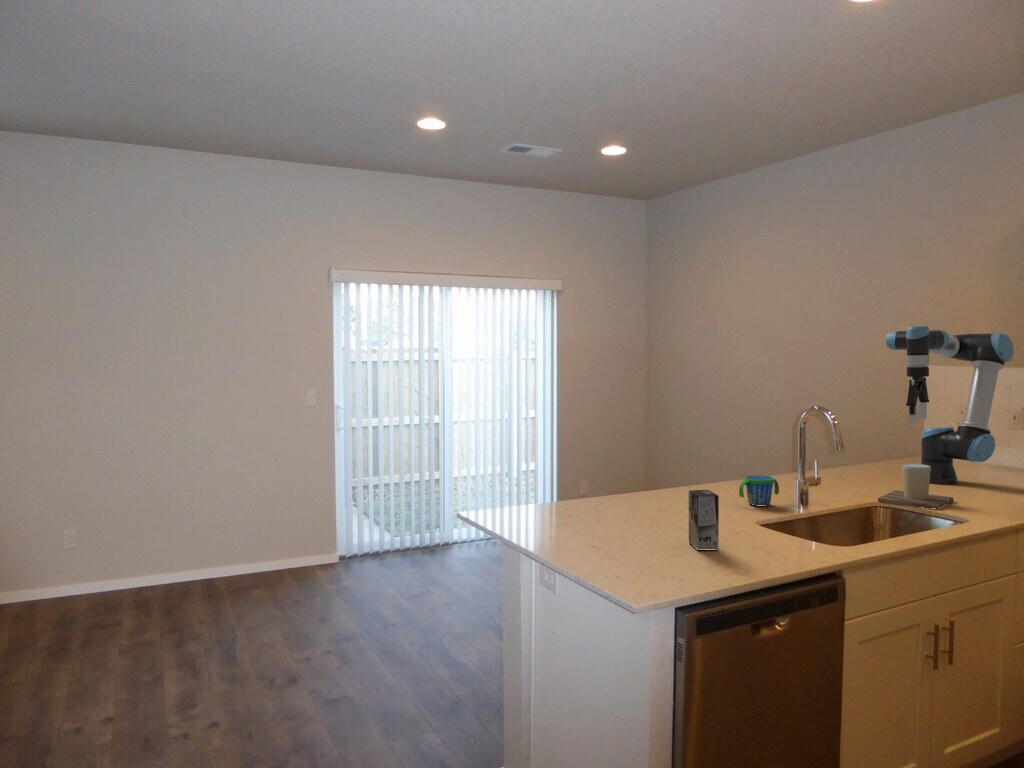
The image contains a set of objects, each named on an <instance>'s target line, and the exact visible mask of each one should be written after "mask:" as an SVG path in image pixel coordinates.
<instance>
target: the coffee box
mask: <svg viewBox="0 0 1024 768" xmlns="http://www.w3.org/2000/svg"><path fill="white" fill-rule="evenodd" d="M719 497H720V496H719V495H718V494H716V493H715V492H712V491H711V490H709V489H694V490H693V489H691V490H688V543H689V542H690V543H691V544H693V545H694V546H695V547H696V548H698V549H718V550H719V540H720V539H719V533H720V532H719V522H720V521H719V520H720V519H719V518H720V517H719V515H720V514H719V510H720V509H719V508H720V507H719V502H720V500H719V499H720V498H719Z"/></svg>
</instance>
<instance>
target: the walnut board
mask: <svg viewBox="0 0 1024 768" xmlns="http://www.w3.org/2000/svg"><path fill="white" fill-rule="evenodd" d="M954 500H955V499H954V496H946V495H937V494H931V493H930V494H929V493H928V499H925V500H917V499H909V498H906V497H904V490H899V489H898V490H892V491H891V492H888V493H887V494H884V495H881V496H879V497H877V502H878V503H884V504H890V505H897V506H898V505H899V506H904V507H912V506H913V508H919V507H924V508H923V509H926V508H936V509H939V508H940V507H942V506H944V505H946V504H948V503H950V502H951V503H953V502H954ZM952 501H953V502H952ZM951 503H950V504H951ZM948 505H949V504H948ZM946 506H947V505H946ZM944 507H945V506H944ZM939 510H940V509H939Z"/></svg>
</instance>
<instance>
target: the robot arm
mask: <svg viewBox="0 0 1024 768" xmlns="http://www.w3.org/2000/svg"><path fill="white" fill-rule="evenodd" d="M885 345H886V347H887V349H888V350H894V351H897V350H898V351H899V350H903V351H906V357H905V358H904V360H905V361H906V366H907V367H906V377H909V378H910V377H911V378H912V379H909V381H908V382H909V383H908V385H909V386H908V392H907V399H906V403H905V405H906V407H908V424H918V420H928V411H927V410H928V403H930V399H929V393H928V387H927V386H928V385H927V377H929V375H930V367H929V365H930V354H935V355H940V356H941V357H943V358H948V359H949V358H950V359H954V360H958V361H959V360H960V361H965V362H970V364H971V366H973V372H972V377H971V382H970V387H969V392H968V397H967V402H966V407H965V412H964V416H963V421H962V423H961V424H959V425H958V426H957V429H956V430H955V429H954V427H953V426H952V427H951V426H942V427H930V428H929V427H927V428H924V429H923V430H922V433H921V438H920V439H921V457H920V460H921V461H920V464H923V465H928V466H930V468H931V470H930V482H929V484H934V483H935V485H954V484H957V483H958V475H957V473H956V469H955V466H954V460H958V461H965V462H966V461H967V462H968V461H969V462H971V463H976V462H977V463H983V462H986V461H988V460H990V458H991V457H992V456H993V454H994V452H995V448H996V442H995V441H996V439H995V437H994V436H993V434H992V430H991V429H990V428H989V426H988V425H989V420H990V416H991V410H992V407H993V406H992V405H993V400H994V396H995V390H996V385H997V382H998V378H999V377H998V376H999V371H1001V370H1002V369H1004V368H1005V364H1006V363H1009V362H1010V361H1012V359H1013V358H1014V354H1015V352H1014V350H1015V349H1014V343H1013V341H1012V339H1011V338H1010V337H1009V336H1008V334H1005V333H996V332H991V333H965V334H964V333H963V334H953V335H952V334H948V333H947V331H945V330H942V329H931V330H930V328H929V326H928V325H914V326H910V325H909V326H908V327H907V328H906V330H895V331H890V332H888V333H887V334H886V336H885ZM917 403H918V406H917Z"/></svg>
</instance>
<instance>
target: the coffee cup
mask: <svg viewBox="0 0 1024 768" xmlns="http://www.w3.org/2000/svg"><path fill="white" fill-rule="evenodd" d="M901 468H902V480H903V481H902V483H903V491H904V497H906V498H909V499H917V500H925V499H928V494H929V490H930V489H929V488H930V483H929V482H930V470H931V468H930V466H928V465H923V464H921V463H920V464H919V463H905V464H903V465H902V467H901Z"/></svg>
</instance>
